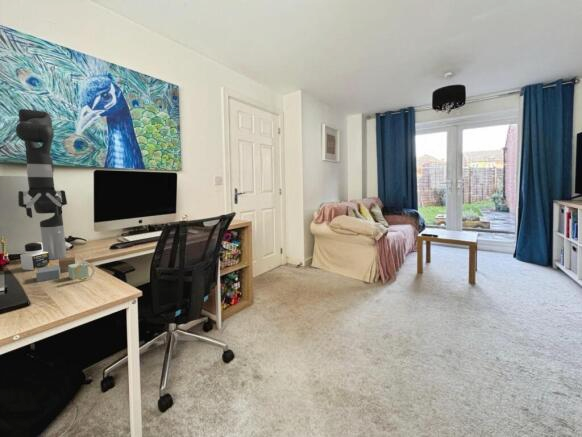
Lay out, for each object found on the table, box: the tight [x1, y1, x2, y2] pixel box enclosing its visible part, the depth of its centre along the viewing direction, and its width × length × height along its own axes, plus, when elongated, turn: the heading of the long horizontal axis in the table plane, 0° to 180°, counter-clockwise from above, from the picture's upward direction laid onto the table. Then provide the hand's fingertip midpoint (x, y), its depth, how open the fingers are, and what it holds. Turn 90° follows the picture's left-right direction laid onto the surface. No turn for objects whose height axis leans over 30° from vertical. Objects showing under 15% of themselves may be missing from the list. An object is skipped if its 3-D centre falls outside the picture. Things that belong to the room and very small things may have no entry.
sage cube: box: [67, 261, 90, 281], centre depth 117 cm, size 6×6×6 cm
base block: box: [35, 265, 62, 283], centre depth 116 cm, size 7×7×4 cm
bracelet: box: [74, 261, 96, 282], centre depth 113 cm, size 7×3×8 cm, turn 134°
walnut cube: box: [58, 256, 76, 274], centre depth 125 cm, size 6×6×6 cm
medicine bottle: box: [20, 241, 51, 271], centre depth 128 cm, size 7×7×12 cm
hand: (45, 216), depth 110 cm, fingers open, 8 cm apart
